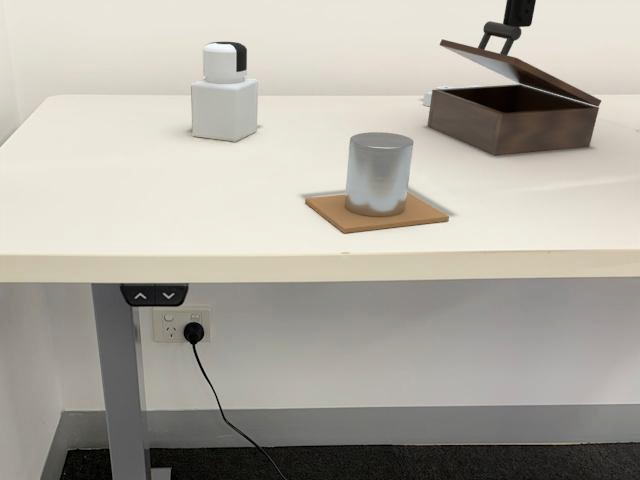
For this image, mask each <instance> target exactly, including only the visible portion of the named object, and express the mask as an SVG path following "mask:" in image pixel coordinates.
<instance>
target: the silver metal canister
mask: <svg viewBox="0 0 640 480" xmlns="http://www.w3.org/2000/svg"><path fill="white" fill-rule="evenodd" d="M414 144H415V143H414V140H413V138H410V137H409V136H406V135H403V134H399V133H392V132H384V131H383V132H381V131H379V132H378V131H377V132H375V131H374V132H371V131H370V132H361V133H357V134H353V135H352V136H350V138H349V146H348V159H347V168H346V170H347V172H346V181H345V182H346V183H345V208H346V209H347V210H349V211H351V212H353V213H356V214H359V215H364V216H371V217H388V216H394V215H398V214H400V213H402V212H403V211H404V210H405V205H406V197H407V192H408V188H409V181H410V173H411V166H412V158H413V150H414Z"/></svg>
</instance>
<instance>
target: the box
mask: <svg viewBox="0 0 640 480" xmlns="http://www.w3.org/2000/svg"><path fill="white" fill-rule="evenodd" d="M483 86H484V85H483ZM431 92H432V96H431V103H430V106H429V111H428V119H427V127H428V128H430V129H432V130H435V131H436V132H439V133H441V134H444V135H446V136H448V137H450V138H453V139H455V140H457V141H460V142H462V143H464V144H466V145H469V146H471V147H474V148H476V149H479V150H480V151H482V152H485V153H488V154H490V155H492V156H494V157H497V156H498V157H499V156H509V155H517V154H519V155H520V154H531V153H539V152H540V153H541V152H553V151H562V150H572V149H584V148H590V146H591V141H592V139H593V135H594V134H593V133H594V130H595V126H596V122H597V118H598V115H599V110H600V106H599V107H598V106H594V105H591V104H587V103H584V102H580V101H577V100H574V99H570V98H567V97H563V96H560V95H557V94H553V93H550V92H546V91H543V90H539V89H536V88H533V87H529V86H526V85H522V84H519V83H517V84H503V85H501V84H499V85H487V86H486V85H485V86H484V87H468V88H452V89H436V88H435V89H432V90H431Z"/></svg>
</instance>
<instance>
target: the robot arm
mask: <svg viewBox="0 0 640 480" xmlns="http://www.w3.org/2000/svg"><path fill="white" fill-rule="evenodd" d="M536 2H537V0H506V3H505V8H504V14H503V15H504V16H503V20H502V24H507V25H512V26H517V27H520V28H526V27H527V28H529V27H531V26H532V23H533V18H534V12H535V7H536Z"/></svg>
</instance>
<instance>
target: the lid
mask: <svg viewBox="0 0 640 480" xmlns="http://www.w3.org/2000/svg"><path fill="white" fill-rule="evenodd" d="M482 29H483V35H482V37H481V39H480V42H479V44H478V46H477V47H475V46H471V45H467V44H464V43H459V42H454V41H451V40H446V39H441V41H440V43H439V47H442V48H444V49H447V50H449V51H451V52H453V53H455V54H457V55H459V56H461V57H463V58H465V59H467V60H469V61H472V62H473V63H476V64H477V65H479V66H481V67H484V68H486V69H488V70H490V71H492V72H494V73H496V74H498V75H501V76H503V77H504V78H507V79H509V80H511V81H513V82H515V83H517V84H521V85H524V86H527V87H531V88H534V89H538V90H541V91H544V92H548V93H551V94H555V95H558V96H561V97H565V98H568V99H572V100H575V101H579V102H582V103H585V104H589V105H592V106H596V107H599V108H600V106H601V103H602V100H601V99H599V98H598V97H596V96H594V95H591V94H590V93H587V92H586V91H584V90H582V89H580V88H577V87H576V86H574V85H572V84H570V83H567V82H565V81H564V80H562V79H560V78H557V76H554V75H552V74H550V73H548V72H546V71H544V70H542V69H540V68H538V67H537V66H534V65H532V64H530V63H528V62H526V61H524V60H522V59H520V58H519V57H515V56H511V55H508V54H509V53H510V51H511V49H512V46H513V44H514V42H515V41H517V40H519V39H520V38H521V36H522V27H517V26H512V25H507V24H503V22H497V21H491V20H490V21H487V22H485V24H484V25H483V28H482ZM491 37H496V38H501V39H505V42H504V44H503V46H502V48H501V50H500V52H495V51H492V50H487V49H486V47H487V46H488V43H489V41H490V39H491Z"/></svg>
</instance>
